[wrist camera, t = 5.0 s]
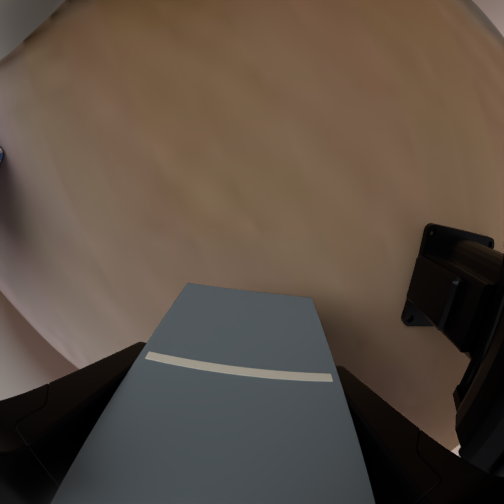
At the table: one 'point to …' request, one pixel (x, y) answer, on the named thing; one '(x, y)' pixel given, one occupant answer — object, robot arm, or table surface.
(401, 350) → the table surface
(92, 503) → the domino
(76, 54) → the table surface
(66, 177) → the table surface
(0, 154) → the ink cartridge box
